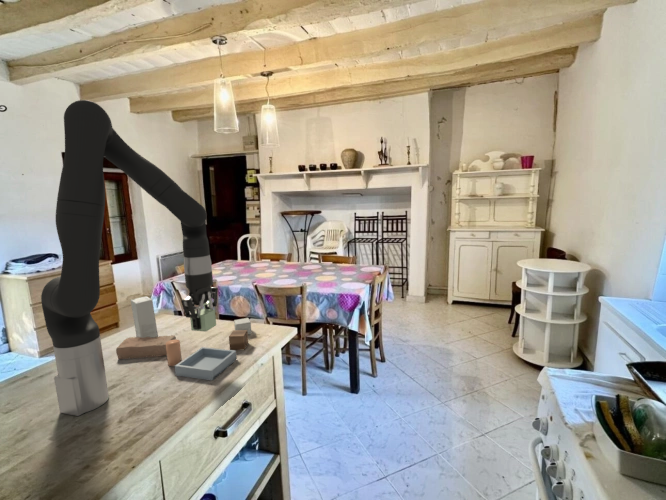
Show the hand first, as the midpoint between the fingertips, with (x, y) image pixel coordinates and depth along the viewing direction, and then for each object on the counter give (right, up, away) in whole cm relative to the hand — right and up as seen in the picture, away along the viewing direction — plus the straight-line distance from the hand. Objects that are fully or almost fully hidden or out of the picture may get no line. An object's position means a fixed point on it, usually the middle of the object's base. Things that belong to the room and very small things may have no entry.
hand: (203, 325), depth 99 cm
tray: (0, -13, +2) cm, 13 cm away
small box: (+4, -10, +28) cm, 29 cm away
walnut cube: (+6, -11, +16) cm, 20 cm away
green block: (0, -1, 0) cm, 1 cm away
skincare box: (-32, -11, +26) cm, 43 cm away
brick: (-24, -13, +13) cm, 30 cm away
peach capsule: (-11, -13, +5) cm, 18 cm away
